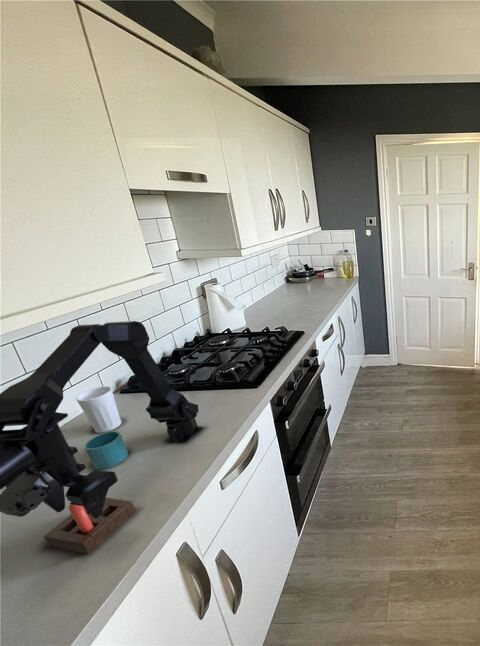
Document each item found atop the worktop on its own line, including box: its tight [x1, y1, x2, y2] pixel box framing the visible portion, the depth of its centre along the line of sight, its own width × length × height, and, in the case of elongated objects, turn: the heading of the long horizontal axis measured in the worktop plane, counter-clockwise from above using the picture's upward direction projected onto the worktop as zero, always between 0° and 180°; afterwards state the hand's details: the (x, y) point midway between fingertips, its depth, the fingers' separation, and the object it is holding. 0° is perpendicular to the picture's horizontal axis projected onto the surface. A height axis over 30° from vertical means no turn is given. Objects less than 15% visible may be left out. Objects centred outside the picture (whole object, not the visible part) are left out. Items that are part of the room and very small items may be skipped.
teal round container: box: [83, 430, 129, 470], centre depth 93 cm, size 7×7×6 cm
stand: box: [43, 497, 137, 555], centre depth 74 cm, size 10×10×3 cm
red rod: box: [68, 503, 94, 535], centre depth 71 cm, size 2×2×10 cm
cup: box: [75, 385, 122, 434], centre depth 106 cm, size 8×8×12 cm
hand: (79, 513), depth 70 cm, fingers open, 9 cm apart
